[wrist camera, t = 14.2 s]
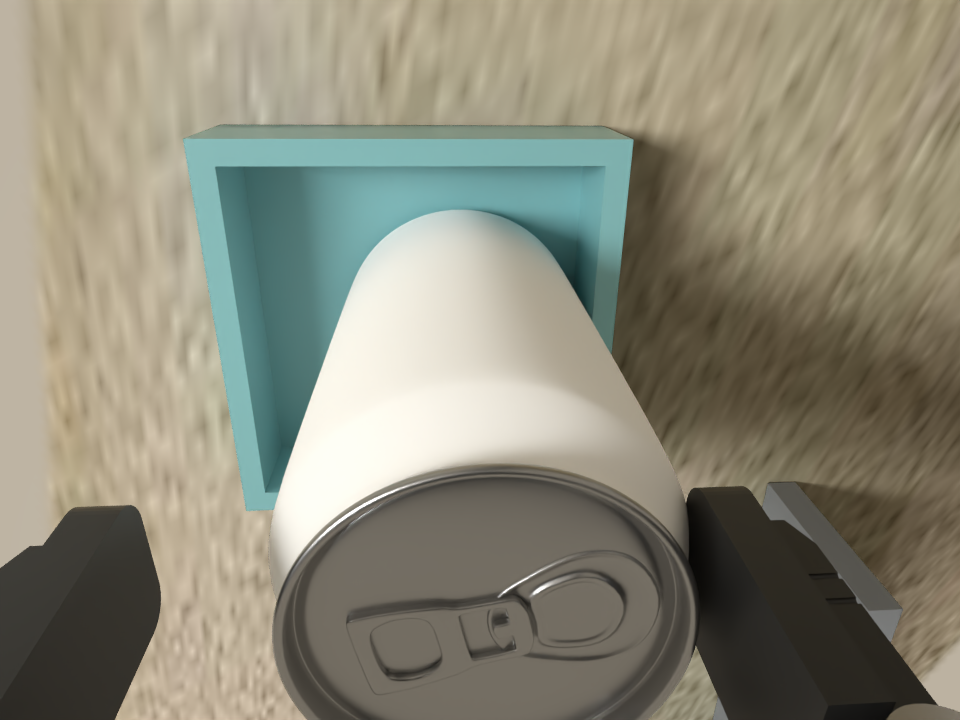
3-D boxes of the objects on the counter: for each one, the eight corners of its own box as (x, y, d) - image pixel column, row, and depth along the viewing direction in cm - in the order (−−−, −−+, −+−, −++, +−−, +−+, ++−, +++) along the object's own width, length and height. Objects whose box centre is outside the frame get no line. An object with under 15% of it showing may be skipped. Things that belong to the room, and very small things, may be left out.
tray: (220, 124, 18) (183, 138, 15) (602, 126, 18) (633, 139, 16) (268, 453, 22) (246, 510, 19) (576, 443, 23) (596, 498, 20)
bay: (391, 496, 23) (380, 635, 18) (795, 481, 24) (903, 609, 19) (406, 761, 29) (401, 926, 23) (729, 740, 30) (796, 894, 24)
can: (583, 387, 21) (743, 756, 10) (382, 430, 21) (325, 836, 10) (550, 181, 18) (722, 381, 7) (319, 232, 18) (150, 502, 7)
